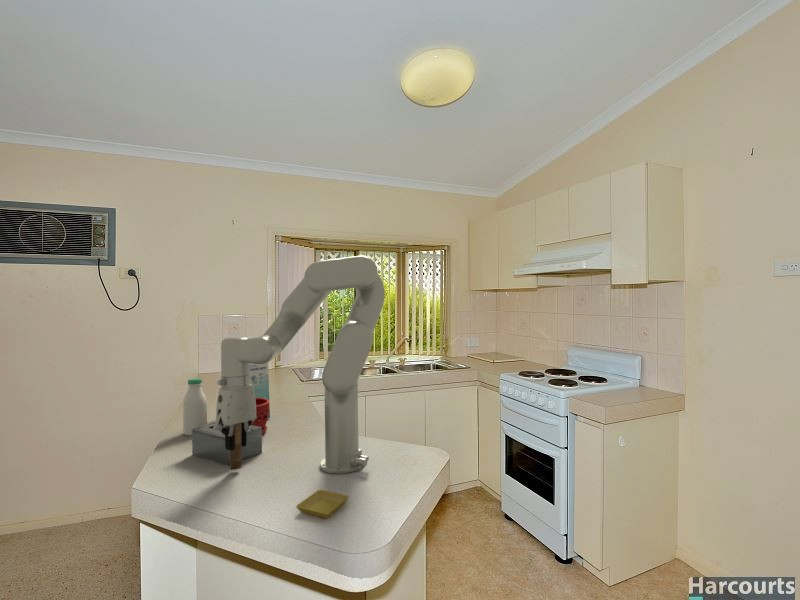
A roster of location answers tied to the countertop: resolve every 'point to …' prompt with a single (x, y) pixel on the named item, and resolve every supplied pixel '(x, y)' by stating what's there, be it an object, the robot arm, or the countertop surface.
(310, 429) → the countertop surface
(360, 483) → the countertop surface
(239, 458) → the stylus dowel
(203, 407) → the milk bottle
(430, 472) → the countertop surface
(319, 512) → the olive square dish
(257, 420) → the plant pot
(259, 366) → the toothbrush box
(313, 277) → the robot arm
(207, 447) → the grey box
